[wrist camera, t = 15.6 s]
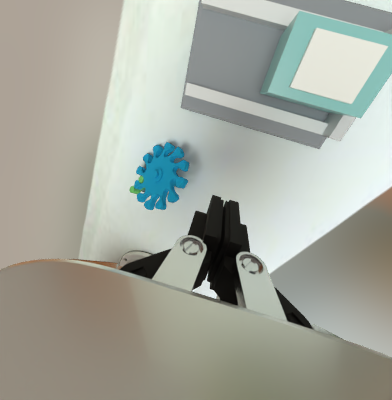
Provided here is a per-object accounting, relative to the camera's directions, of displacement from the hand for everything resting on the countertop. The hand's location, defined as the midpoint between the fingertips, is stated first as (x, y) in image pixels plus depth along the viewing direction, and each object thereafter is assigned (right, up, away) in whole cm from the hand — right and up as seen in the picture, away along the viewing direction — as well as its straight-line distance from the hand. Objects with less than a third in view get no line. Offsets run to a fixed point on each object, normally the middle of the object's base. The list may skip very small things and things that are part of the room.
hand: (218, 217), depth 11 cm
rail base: (+7, +16, +9) cm, 19 cm away
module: (+10, +14, +7) cm, 19 cm away
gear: (-6, +6, +18) cm, 20 cm away
